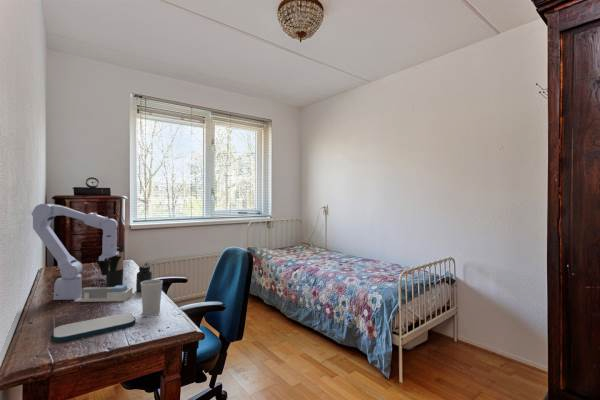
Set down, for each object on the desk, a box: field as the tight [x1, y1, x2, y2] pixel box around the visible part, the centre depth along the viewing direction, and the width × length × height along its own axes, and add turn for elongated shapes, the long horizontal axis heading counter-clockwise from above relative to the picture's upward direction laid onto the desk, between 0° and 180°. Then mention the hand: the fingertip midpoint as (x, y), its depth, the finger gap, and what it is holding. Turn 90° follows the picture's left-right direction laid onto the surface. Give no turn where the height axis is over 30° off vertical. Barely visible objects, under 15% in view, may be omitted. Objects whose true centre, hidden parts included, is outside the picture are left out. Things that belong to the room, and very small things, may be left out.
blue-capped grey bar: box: [81, 284, 128, 298], centre depth 138 cm, size 18×4×4 cm, turn 96°
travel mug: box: [105, 245, 125, 287], centre depth 157 cm, size 8×8×20 cm
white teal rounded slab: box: [52, 312, 136, 343], centre depth 106 cm, size 24×12×2 cm, turn 129°
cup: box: [140, 279, 164, 316], centre depth 123 cm, size 8×8×12 cm
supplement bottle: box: [135, 265, 153, 293], centre depth 150 cm, size 7×7×12 cm
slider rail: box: [73, 287, 134, 303], centre depth 138 cm, size 21×9×4 cm, turn 96°
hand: (109, 273), depth 143 cm, fingers open, 7 cm apart
